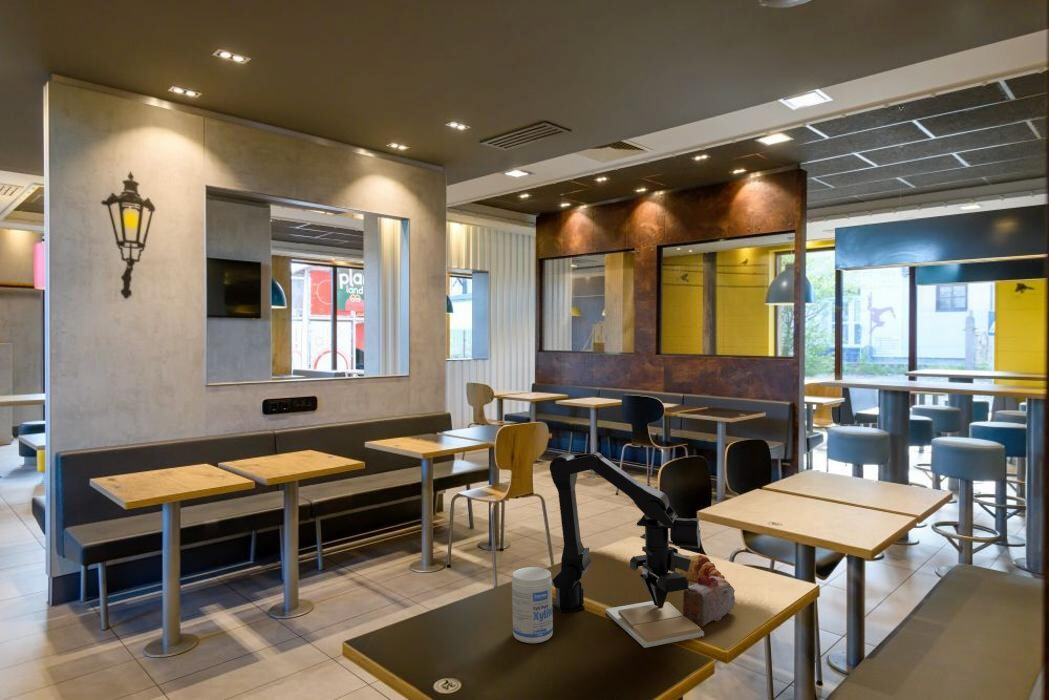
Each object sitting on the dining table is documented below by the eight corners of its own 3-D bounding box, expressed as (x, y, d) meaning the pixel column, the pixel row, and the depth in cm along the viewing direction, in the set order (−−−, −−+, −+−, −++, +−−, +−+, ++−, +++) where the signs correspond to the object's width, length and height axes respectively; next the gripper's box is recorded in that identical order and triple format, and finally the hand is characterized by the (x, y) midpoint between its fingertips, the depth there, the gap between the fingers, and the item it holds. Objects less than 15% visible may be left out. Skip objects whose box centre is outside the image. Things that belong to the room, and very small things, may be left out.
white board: (644, 647, 141) (644, 638, 141) (605, 612, 160) (605, 605, 160) (704, 636, 146) (703, 627, 146) (659, 603, 165) (659, 595, 165)
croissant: (664, 579, 191) (654, 558, 190) (685, 558, 196) (675, 537, 194) (718, 601, 173) (707, 578, 171) (739, 577, 177) (729, 554, 176)
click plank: (631, 628, 148) (631, 624, 148) (618, 614, 155) (618, 610, 155) (683, 619, 153) (683, 615, 153) (668, 605, 159) (668, 601, 159)
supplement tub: (541, 648, 142) (539, 583, 142) (505, 639, 147) (503, 577, 147) (560, 631, 151) (558, 569, 150) (525, 623, 155) (524, 564, 155)
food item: (709, 604, 164) (708, 566, 164) (738, 613, 158) (737, 573, 158) (679, 620, 155) (678, 580, 155) (708, 630, 149) (707, 588, 149)
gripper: (707, 551, 149) (709, 616, 149) (665, 530, 167) (667, 588, 167) (665, 557, 146) (667, 624, 146) (628, 535, 164) (629, 595, 164)
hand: (658, 606), depth 156 cm, fingers closed
